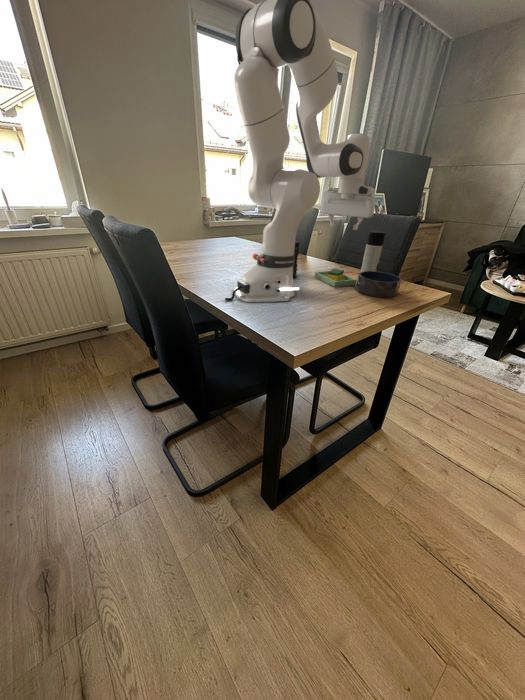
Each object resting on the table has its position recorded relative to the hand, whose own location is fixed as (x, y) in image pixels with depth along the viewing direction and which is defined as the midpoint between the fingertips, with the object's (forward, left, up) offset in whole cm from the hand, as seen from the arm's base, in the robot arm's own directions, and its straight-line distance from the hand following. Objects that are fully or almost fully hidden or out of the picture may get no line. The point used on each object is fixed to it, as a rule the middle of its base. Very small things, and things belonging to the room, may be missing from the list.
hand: (343, 228), depth 112 cm
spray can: (+16, -2, -21) cm, 27 cm away
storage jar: (-18, +12, -21) cm, 30 cm away
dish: (0, 0, -21) cm, 21 cm away
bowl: (+8, -17, -21) cm, 28 cm away
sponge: (0, 0, -20) cm, 21 cm away
